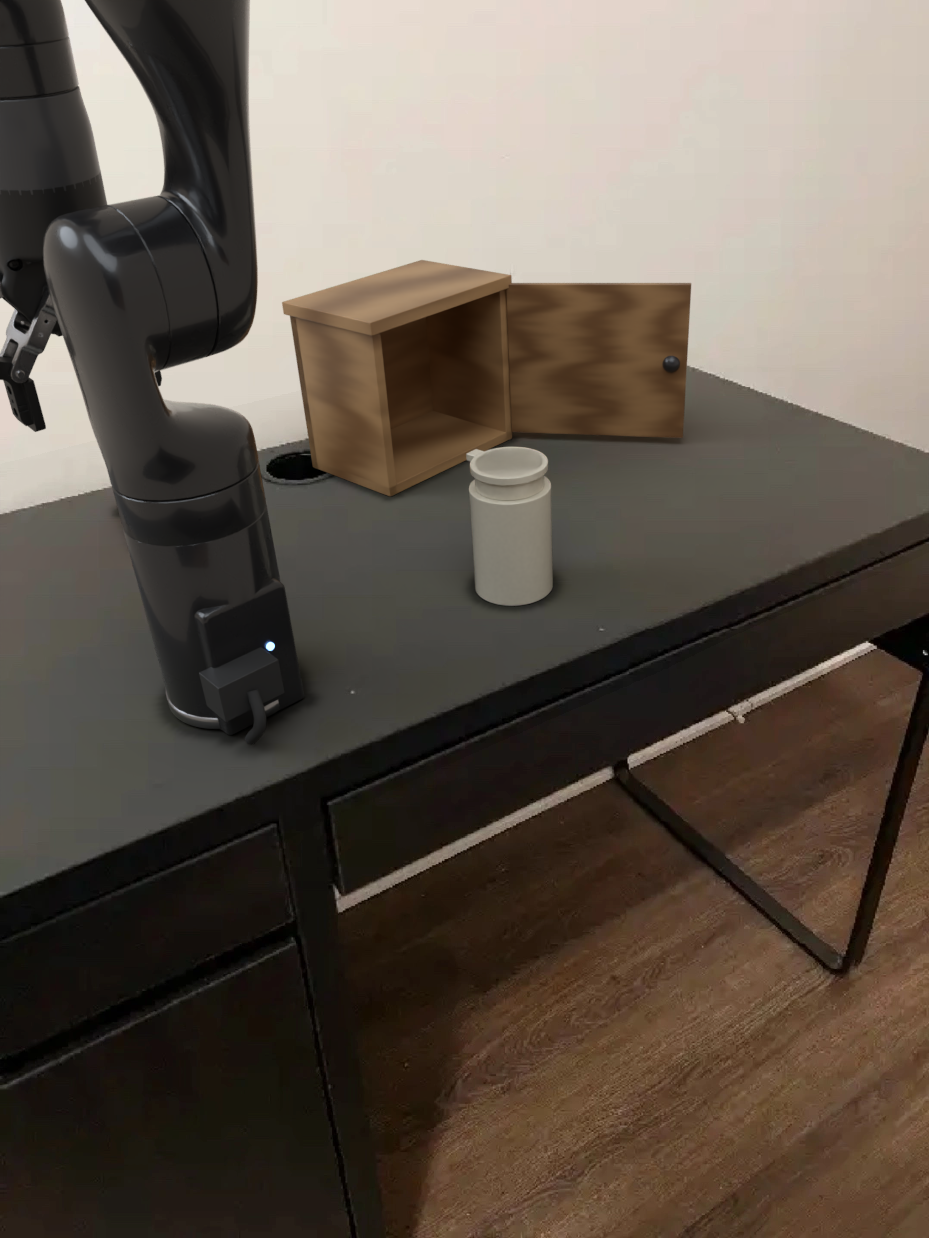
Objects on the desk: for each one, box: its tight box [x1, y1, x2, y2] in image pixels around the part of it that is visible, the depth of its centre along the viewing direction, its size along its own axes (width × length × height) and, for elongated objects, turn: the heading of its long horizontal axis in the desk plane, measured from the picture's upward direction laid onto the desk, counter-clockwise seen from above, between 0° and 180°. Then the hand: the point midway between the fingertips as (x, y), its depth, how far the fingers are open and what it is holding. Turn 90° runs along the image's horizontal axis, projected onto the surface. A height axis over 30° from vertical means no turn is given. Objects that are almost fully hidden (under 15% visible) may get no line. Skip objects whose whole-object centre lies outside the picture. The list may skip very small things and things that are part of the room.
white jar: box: [466, 446, 554, 607], centre depth 82 cm, size 7×6×11 cm
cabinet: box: [281, 259, 692, 497], centre depth 103 cm, size 28×28×17 cm
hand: (93, 409), depth 74 cm, fingers open, 8 cm apart
